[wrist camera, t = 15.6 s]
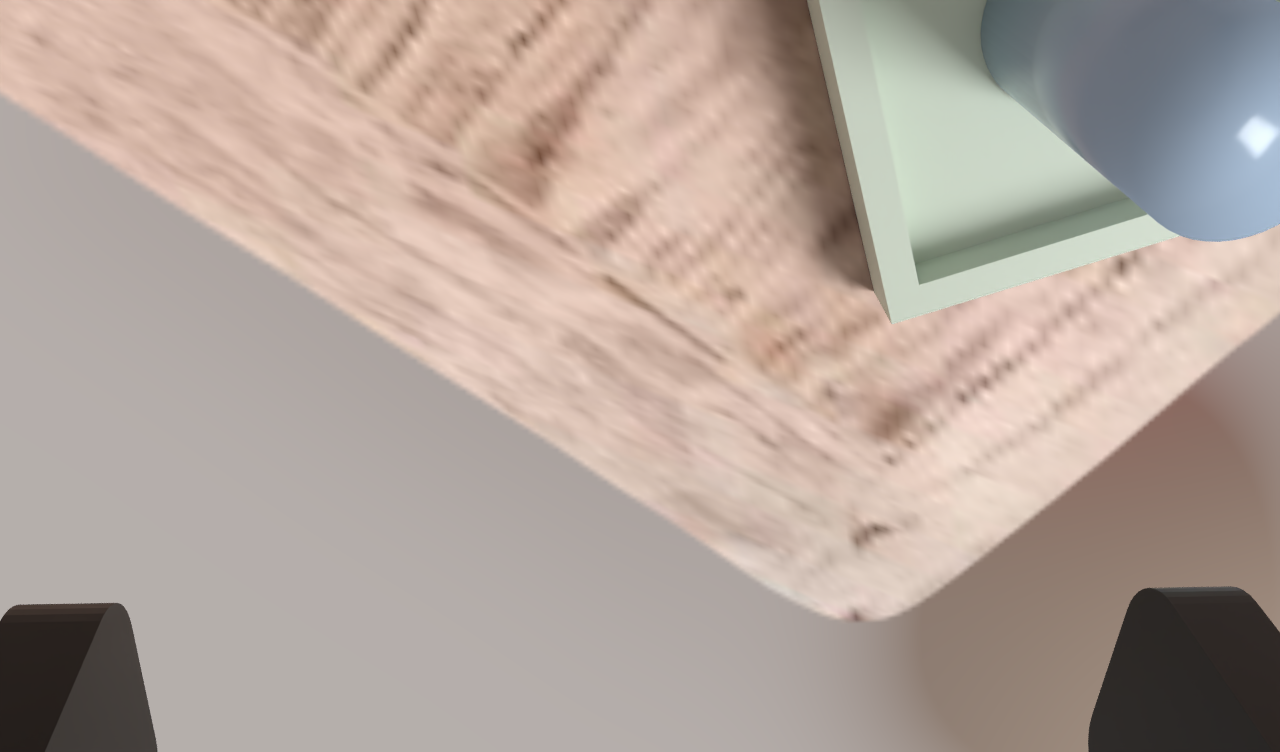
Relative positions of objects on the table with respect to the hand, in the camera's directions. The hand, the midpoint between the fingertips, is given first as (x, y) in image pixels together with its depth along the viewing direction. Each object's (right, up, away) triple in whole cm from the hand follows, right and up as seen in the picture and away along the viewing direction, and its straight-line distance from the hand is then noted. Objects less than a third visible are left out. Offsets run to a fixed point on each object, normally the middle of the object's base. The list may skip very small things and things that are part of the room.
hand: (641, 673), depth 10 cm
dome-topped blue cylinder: (+14, +14, +29) cm, 35 cm away
